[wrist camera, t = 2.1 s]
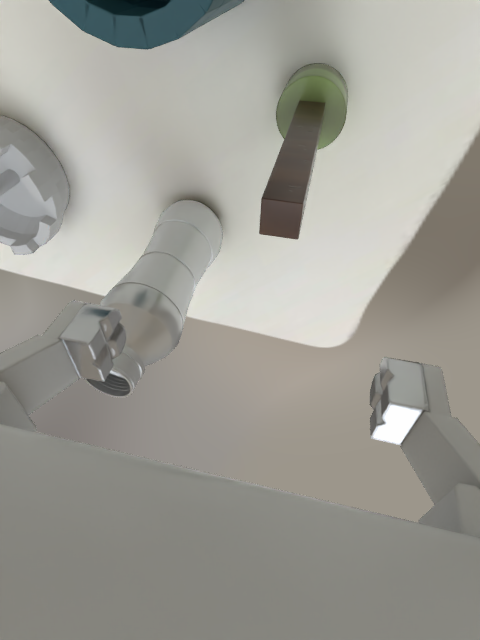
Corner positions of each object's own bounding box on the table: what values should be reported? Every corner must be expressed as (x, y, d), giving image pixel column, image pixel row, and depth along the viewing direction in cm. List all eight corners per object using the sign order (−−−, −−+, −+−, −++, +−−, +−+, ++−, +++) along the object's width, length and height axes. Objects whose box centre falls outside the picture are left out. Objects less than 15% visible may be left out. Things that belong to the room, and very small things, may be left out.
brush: (286, 60, 27) (227, 158, 15) (354, 65, 27) (347, 173, 15) (280, 130, 31) (227, 256, 19) (340, 137, 30) (325, 271, 18)
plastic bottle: (219, 188, 36) (130, 348, 22) (233, 249, 40) (167, 414, 26) (157, 193, 37) (39, 344, 24) (177, 251, 42) (88, 406, 28)
